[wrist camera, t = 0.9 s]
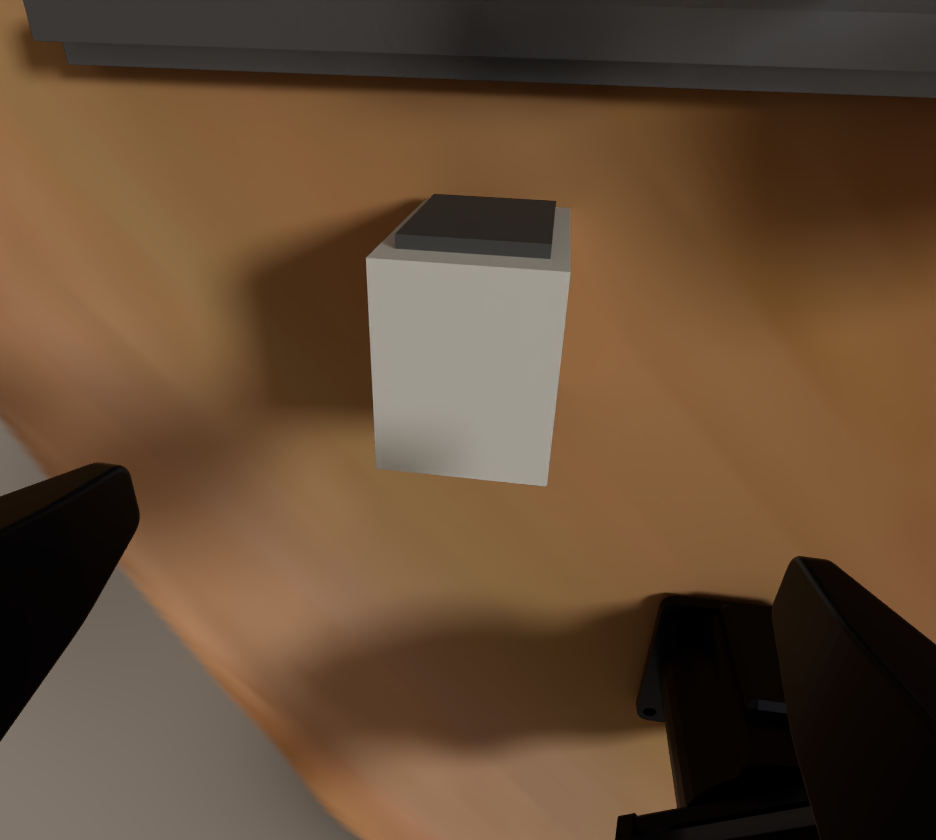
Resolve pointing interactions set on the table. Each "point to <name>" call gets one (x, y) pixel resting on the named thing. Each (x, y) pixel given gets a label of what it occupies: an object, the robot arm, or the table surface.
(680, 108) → the table surface
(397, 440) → the block
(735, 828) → the robot arm
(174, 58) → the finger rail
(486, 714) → the table surface
